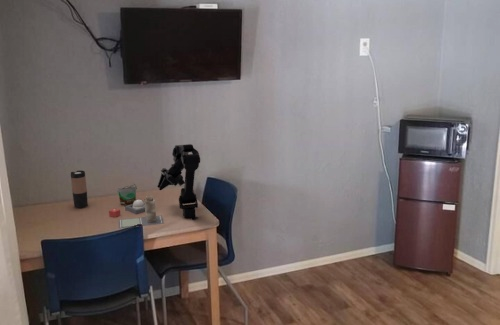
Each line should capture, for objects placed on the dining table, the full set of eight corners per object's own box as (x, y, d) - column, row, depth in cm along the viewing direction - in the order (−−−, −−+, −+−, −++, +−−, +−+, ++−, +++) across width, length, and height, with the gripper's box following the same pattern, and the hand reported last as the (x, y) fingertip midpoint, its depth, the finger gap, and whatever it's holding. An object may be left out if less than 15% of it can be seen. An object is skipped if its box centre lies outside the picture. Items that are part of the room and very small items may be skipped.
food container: (125, 207, 264) (123, 190, 262) (118, 205, 268) (116, 188, 265) (142, 201, 274) (141, 185, 271) (135, 199, 277) (134, 183, 275)
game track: (161, 217, 248) (161, 215, 248) (164, 225, 237) (163, 223, 237) (118, 221, 243) (118, 219, 242) (118, 230, 232) (118, 227, 231)
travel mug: (85, 208, 263) (82, 174, 258) (71, 208, 263) (68, 174, 258) (90, 204, 270) (86, 170, 265) (77, 204, 270) (73, 170, 265)
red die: (120, 216, 250) (119, 208, 249) (115, 219, 246) (114, 211, 245) (114, 215, 251) (113, 207, 250) (109, 218, 248) (108, 210, 247)
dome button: (147, 210, 258) (146, 199, 256) (137, 213, 253) (136, 202, 252) (140, 207, 262) (139, 197, 260) (130, 210, 258) (129, 199, 256)
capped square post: (154, 218, 244) (153, 194, 241) (156, 221, 240) (154, 197, 237) (145, 219, 242) (144, 195, 239) (147, 222, 238) (145, 198, 235)
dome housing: (152, 211, 258) (152, 205, 257) (135, 215, 251) (135, 210, 250) (141, 206, 265) (141, 201, 264) (125, 211, 258) (125, 206, 257)
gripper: (193, 180, 248) (173, 202, 247) (185, 171, 265) (166, 192, 264) (177, 167, 243) (157, 190, 242) (170, 159, 260) (151, 180, 259)
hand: (158, 188), depth 252 cm, fingers open, 5 cm apart
